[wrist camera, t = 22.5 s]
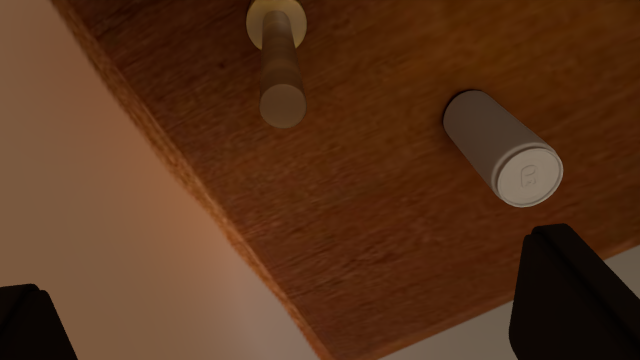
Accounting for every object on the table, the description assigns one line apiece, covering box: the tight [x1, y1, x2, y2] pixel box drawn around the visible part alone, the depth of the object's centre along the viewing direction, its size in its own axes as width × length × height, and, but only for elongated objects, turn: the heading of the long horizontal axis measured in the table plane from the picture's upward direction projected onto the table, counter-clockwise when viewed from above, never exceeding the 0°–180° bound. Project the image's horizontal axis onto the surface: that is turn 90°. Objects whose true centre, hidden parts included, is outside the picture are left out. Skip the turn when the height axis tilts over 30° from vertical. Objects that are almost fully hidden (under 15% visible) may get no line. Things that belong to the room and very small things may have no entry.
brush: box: [246, 0, 307, 128], centre depth 29 cm, size 4×4×20 cm
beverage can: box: [443, 90, 563, 207], centre depth 38 cm, size 5×5×12 cm
